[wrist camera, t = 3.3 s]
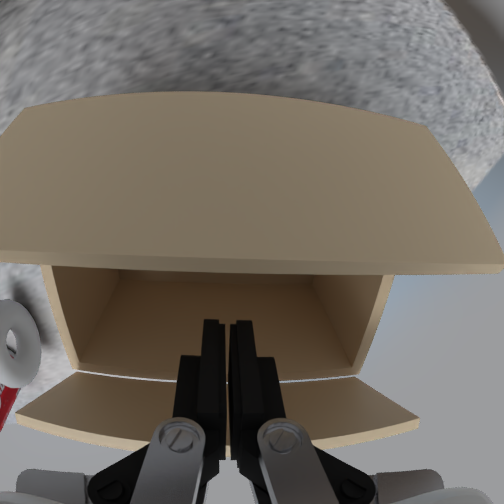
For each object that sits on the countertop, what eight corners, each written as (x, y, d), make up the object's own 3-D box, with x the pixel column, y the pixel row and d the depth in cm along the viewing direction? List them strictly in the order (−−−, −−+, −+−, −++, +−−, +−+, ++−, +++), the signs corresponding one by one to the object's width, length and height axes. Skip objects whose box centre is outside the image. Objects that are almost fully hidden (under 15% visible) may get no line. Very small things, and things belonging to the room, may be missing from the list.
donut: (56, 349, 32) (27, 408, 22) (37, 349, 31) (7, 404, 22) (22, 281, 27) (-23, 335, 18) (4, 283, 27) (-41, 334, 18)
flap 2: (14, 412, 9) (17, 423, 9) (420, 418, 12) (417, 428, 12) (76, 371, 17) (77, 379, 17) (354, 376, 20) (354, 384, 19)
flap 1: (498, 273, 8) (508, 264, 8) (-59, 257, 6) (-68, 246, 6) (421, 135, 13) (425, 126, 12) (27, 118, 11) (24, 108, 10)
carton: (105, 112, 22) (24, 118, 11) (343, 123, 24) (426, 136, 13) (115, 281, 28) (72, 368, 17) (317, 287, 31) (360, 374, 20)
